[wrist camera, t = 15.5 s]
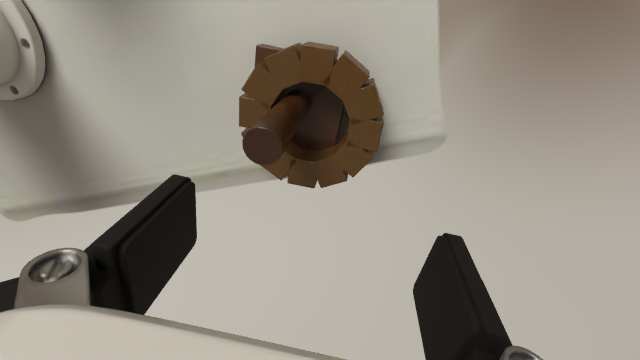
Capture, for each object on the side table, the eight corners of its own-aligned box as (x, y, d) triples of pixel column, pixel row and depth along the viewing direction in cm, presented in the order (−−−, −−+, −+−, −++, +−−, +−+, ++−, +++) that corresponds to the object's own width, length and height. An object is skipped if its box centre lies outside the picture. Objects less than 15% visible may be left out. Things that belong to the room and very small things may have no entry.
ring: (248, 161, 30) (238, 174, 27) (251, 31, 24) (239, 33, 22) (364, 184, 29) (364, 198, 27) (396, 56, 23) (399, 60, 21)
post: (255, 131, 30) (197, 189, 20) (261, 43, 26) (193, 60, 16) (334, 148, 29) (317, 217, 19) (353, 63, 25) (344, 92, 15)
